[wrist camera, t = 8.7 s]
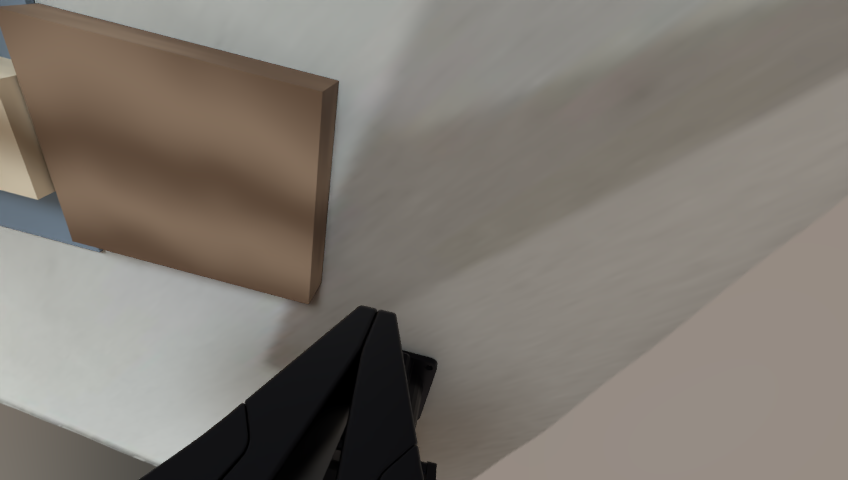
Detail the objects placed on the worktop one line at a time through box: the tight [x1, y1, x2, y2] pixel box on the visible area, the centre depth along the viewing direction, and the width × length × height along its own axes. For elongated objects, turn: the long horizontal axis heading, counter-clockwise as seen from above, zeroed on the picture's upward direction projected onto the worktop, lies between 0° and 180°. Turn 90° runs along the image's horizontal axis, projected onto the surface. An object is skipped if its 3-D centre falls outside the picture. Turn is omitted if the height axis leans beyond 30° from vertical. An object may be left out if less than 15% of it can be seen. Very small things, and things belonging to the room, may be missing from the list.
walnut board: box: [0, 3, 339, 304], centre depth 21 cm, size 12×14×2 cm
